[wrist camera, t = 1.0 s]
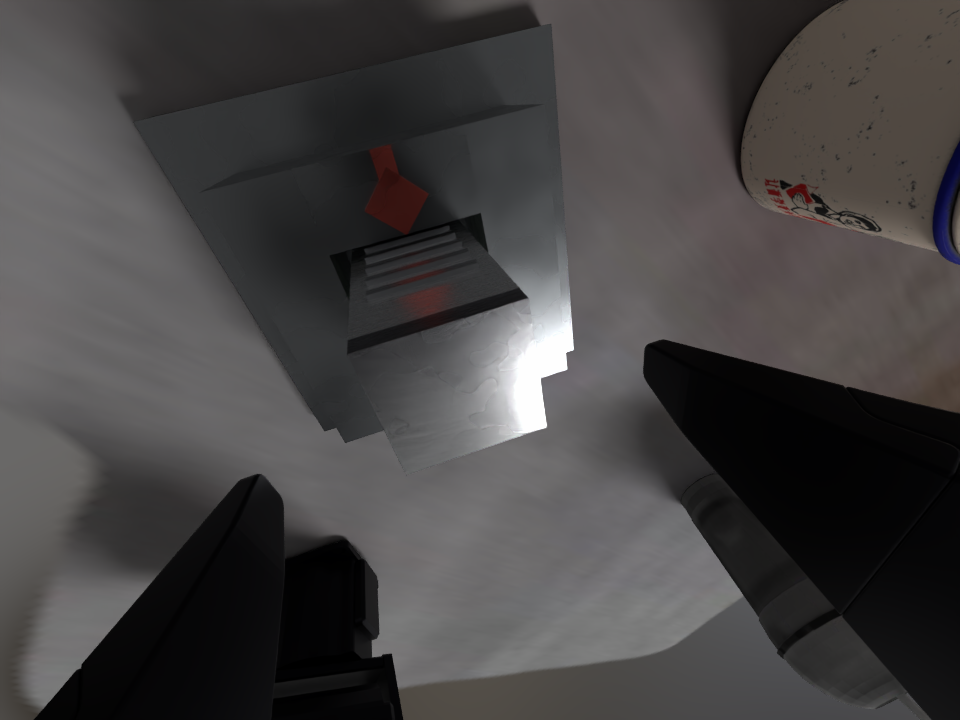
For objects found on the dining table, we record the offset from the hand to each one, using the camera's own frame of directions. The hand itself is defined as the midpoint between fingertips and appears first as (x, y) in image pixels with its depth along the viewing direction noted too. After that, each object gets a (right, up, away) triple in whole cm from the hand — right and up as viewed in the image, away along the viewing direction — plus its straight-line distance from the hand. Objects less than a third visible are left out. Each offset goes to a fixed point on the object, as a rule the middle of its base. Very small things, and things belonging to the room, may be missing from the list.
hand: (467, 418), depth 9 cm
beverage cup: (+21, -11, +27) cm, 35 cm away
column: (-3, +6, +9) cm, 11 cm away
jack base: (-3, +6, +9) cm, 11 cm away
